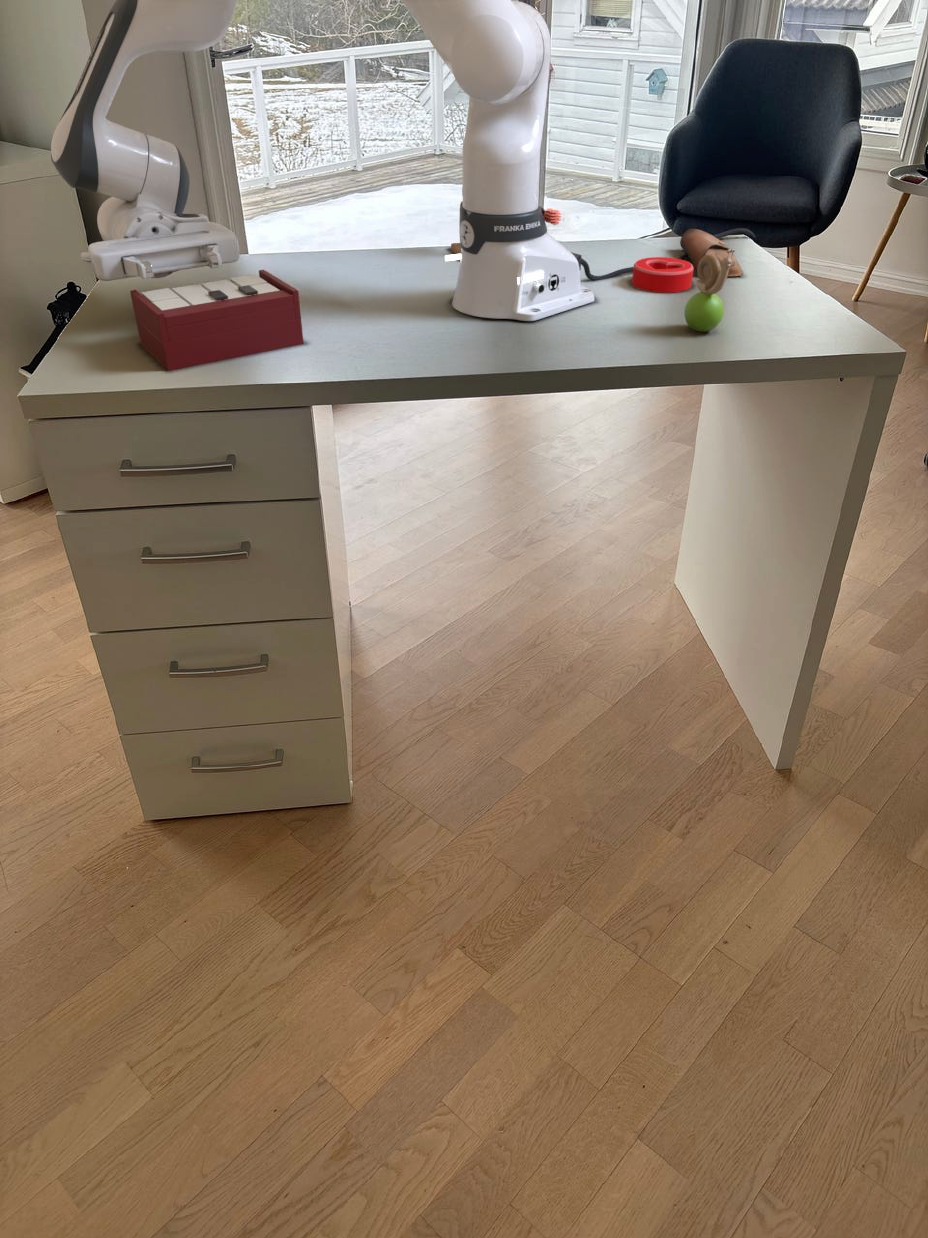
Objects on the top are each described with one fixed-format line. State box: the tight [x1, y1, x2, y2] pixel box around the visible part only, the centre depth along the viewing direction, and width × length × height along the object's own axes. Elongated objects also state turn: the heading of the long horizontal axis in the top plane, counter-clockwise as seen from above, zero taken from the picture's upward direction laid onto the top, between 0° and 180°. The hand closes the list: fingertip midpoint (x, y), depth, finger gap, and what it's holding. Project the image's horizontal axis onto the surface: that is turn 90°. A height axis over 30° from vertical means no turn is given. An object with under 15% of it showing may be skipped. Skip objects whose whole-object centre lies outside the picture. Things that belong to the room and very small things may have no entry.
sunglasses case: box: [679, 228, 744, 278], centre depth 162 cm, size 18×7×7 cm
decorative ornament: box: [631, 256, 695, 294], centre depth 152 cm, size 10×10×3 cm
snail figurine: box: [683, 248, 736, 333], centre depth 130 cm, size 5×6×12 cm
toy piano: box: [129, 269, 305, 372], centre depth 127 cm, size 19×12×7 cm, turn 122°
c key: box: [229, 273, 267, 287], centre depth 131 cm, size 4×4×1 cm
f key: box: [140, 287, 179, 303], centre depth 126 cm, size 4×4×1 cm
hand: (182, 266), depth 125 cm, fingers open, 8 cm apart
